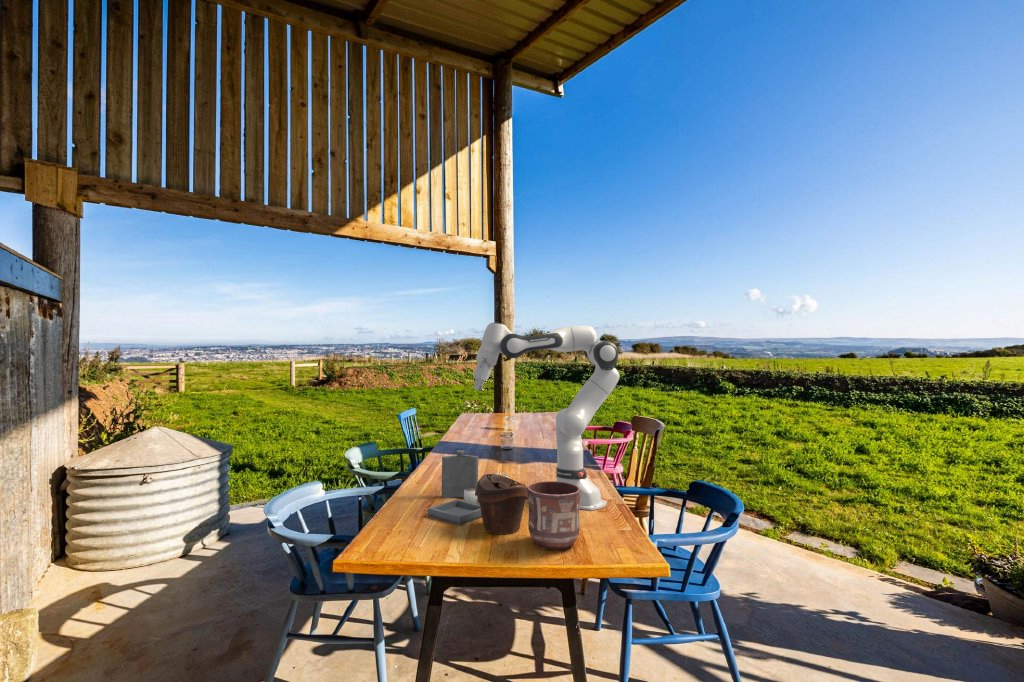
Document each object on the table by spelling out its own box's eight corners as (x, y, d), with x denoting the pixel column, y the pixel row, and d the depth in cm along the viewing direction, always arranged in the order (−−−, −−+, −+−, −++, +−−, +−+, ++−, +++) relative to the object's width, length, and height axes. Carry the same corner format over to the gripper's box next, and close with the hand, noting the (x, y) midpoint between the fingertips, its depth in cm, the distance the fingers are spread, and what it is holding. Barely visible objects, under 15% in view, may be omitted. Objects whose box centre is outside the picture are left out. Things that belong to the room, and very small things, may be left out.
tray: (488, 514, 183) (488, 506, 184) (460, 525, 171) (460, 517, 171) (457, 506, 194) (457, 499, 194) (427, 516, 181) (427, 508, 181)
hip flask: (441, 498, 207) (441, 451, 208) (441, 495, 211) (442, 450, 212) (477, 497, 208) (478, 451, 209) (477, 494, 212) (478, 449, 213)
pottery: (514, 543, 153) (515, 487, 154) (548, 530, 166) (549, 478, 167) (558, 559, 141) (559, 498, 142) (591, 543, 154) (591, 487, 155)
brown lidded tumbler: (526, 539, 157) (526, 484, 158) (468, 535, 161) (468, 481, 162) (534, 523, 174) (534, 473, 176) (481, 520, 178) (482, 471, 180)
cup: (480, 504, 198) (480, 489, 198) (471, 507, 193) (471, 491, 194) (470, 501, 201) (470, 487, 202) (461, 504, 197) (461, 489, 197)
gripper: (490, 359, 193) (480, 392, 192) (496, 361, 214) (487, 391, 213) (476, 355, 194) (466, 387, 193) (483, 357, 214) (474, 387, 213)
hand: (477, 389), depth 203 cm, fingers open, 8 cm apart
